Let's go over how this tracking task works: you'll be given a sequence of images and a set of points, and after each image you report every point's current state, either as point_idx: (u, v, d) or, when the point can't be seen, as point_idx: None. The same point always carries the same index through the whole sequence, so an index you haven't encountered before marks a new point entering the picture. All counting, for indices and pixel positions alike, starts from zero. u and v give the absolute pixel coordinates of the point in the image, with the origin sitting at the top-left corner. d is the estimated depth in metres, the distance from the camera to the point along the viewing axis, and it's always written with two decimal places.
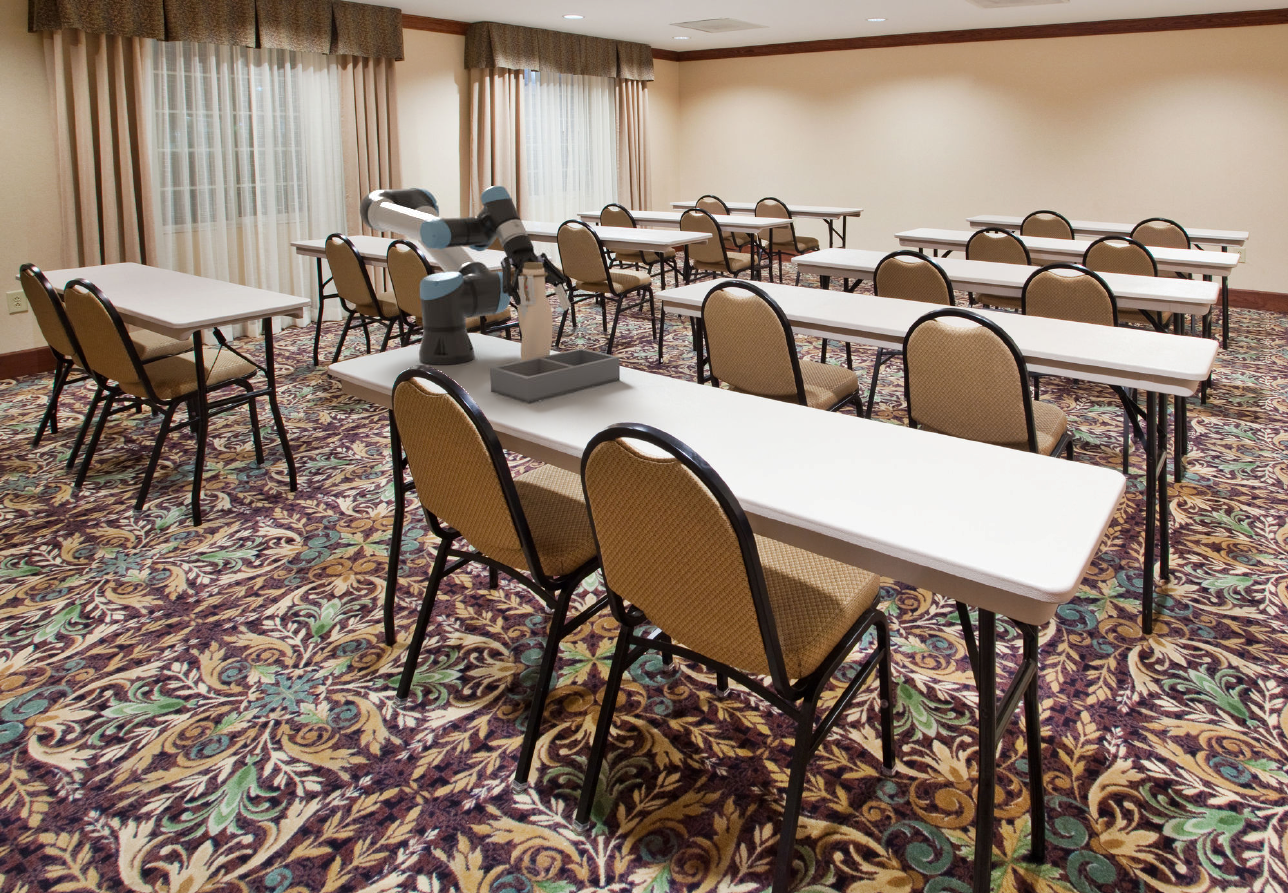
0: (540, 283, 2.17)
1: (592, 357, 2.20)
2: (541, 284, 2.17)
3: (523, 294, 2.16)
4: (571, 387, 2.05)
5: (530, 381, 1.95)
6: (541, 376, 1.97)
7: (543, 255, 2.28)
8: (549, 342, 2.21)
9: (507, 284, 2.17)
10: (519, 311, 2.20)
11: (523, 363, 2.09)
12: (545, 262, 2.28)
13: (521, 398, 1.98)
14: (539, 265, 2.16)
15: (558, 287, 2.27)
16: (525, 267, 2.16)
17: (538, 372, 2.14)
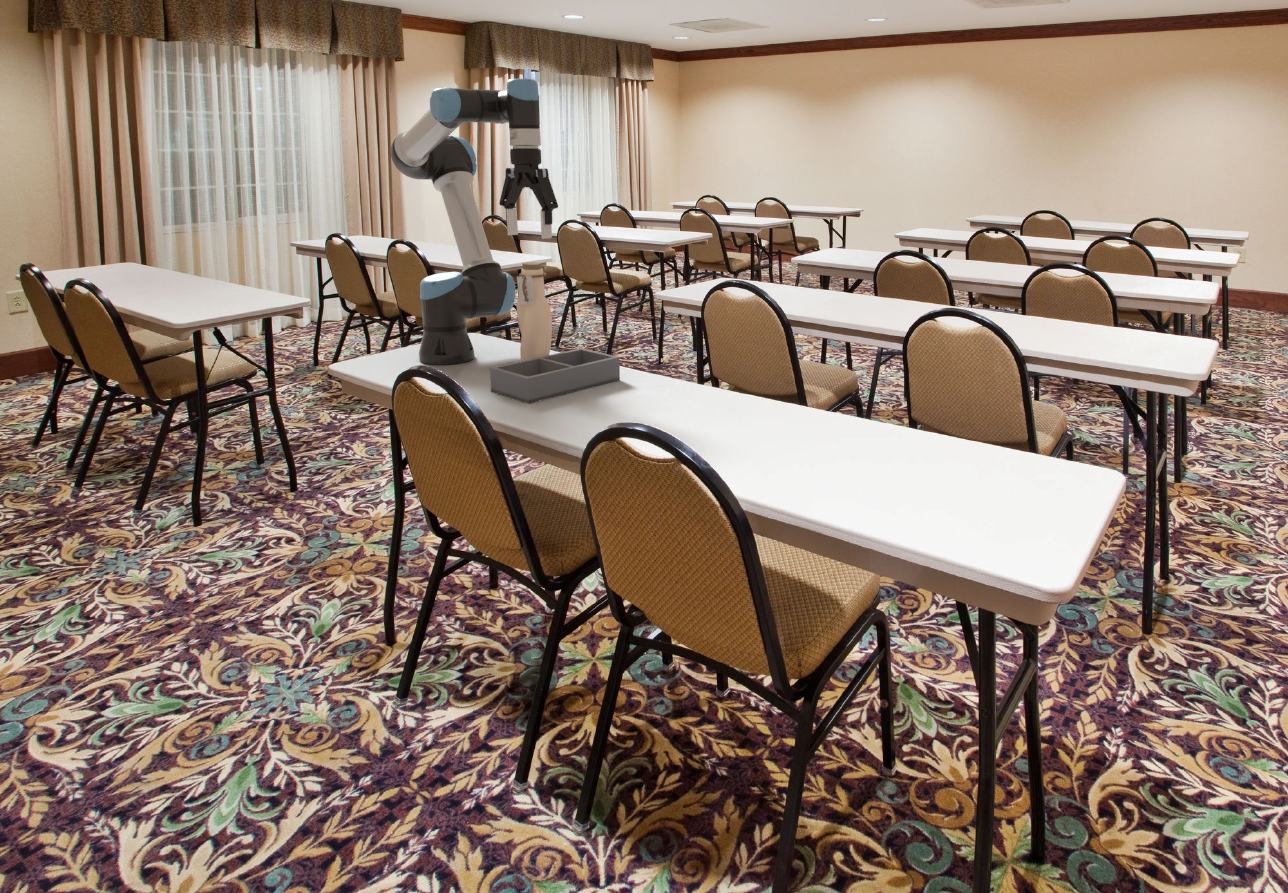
0: (538, 284, 2.17)
1: (592, 357, 2.20)
2: (540, 284, 2.17)
3: (522, 295, 2.16)
4: (571, 387, 2.05)
5: (530, 381, 1.95)
6: (541, 376, 1.97)
7: (538, 172, 2.04)
8: (548, 342, 2.21)
9: (500, 199, 2.17)
10: (518, 311, 2.20)
11: (523, 363, 2.09)
12: None
13: (521, 398, 1.98)
14: (538, 265, 2.16)
15: None
16: (524, 267, 2.16)
17: (538, 372, 2.14)
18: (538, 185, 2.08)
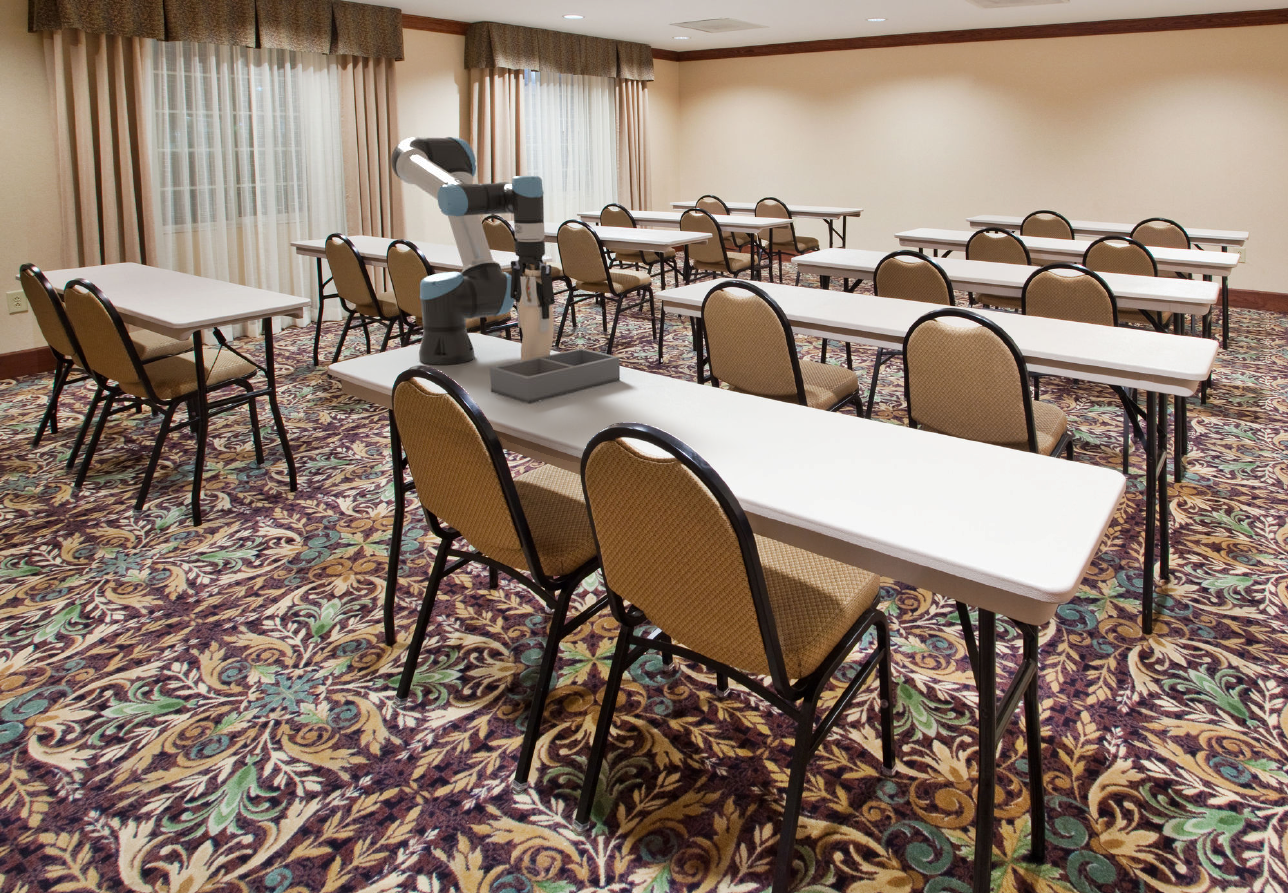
0: None
1: (592, 357, 2.20)
2: None
3: (525, 295, 2.15)
4: (571, 387, 2.05)
5: (530, 381, 1.95)
6: (541, 376, 1.97)
7: (541, 268, 2.12)
8: (549, 343, 2.21)
9: (511, 293, 2.23)
10: (520, 311, 2.19)
11: (523, 363, 2.09)
12: None
13: (521, 398, 1.98)
14: None
15: None
16: None
17: (538, 372, 2.14)
18: None
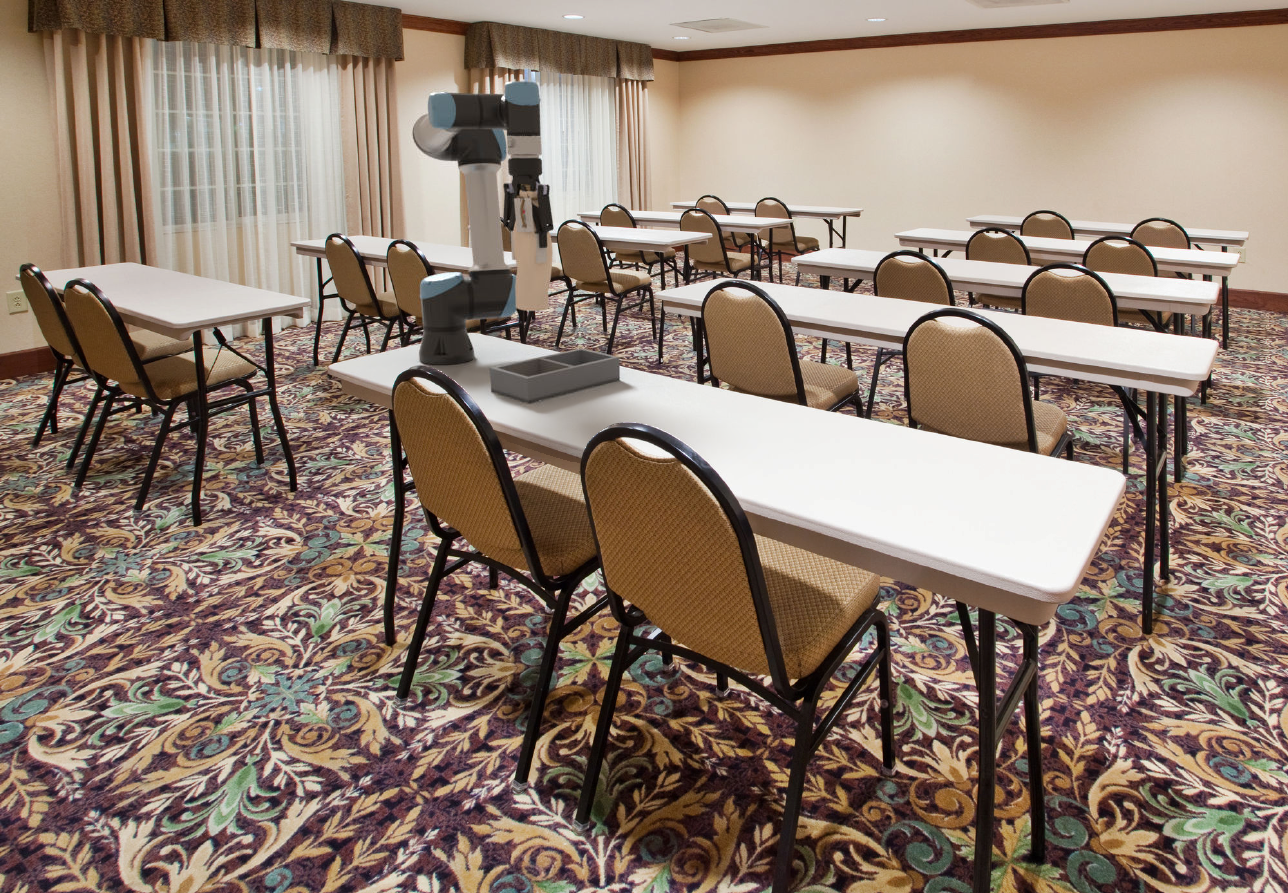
0: None
1: (592, 357, 2.20)
2: None
3: (519, 219, 1.89)
4: (571, 387, 2.05)
5: (530, 381, 1.95)
6: (541, 376, 1.97)
7: (538, 188, 1.86)
8: (547, 276, 1.95)
9: (504, 221, 1.97)
10: (514, 239, 1.93)
11: (523, 363, 2.09)
12: None
13: (521, 398, 1.98)
14: None
15: None
16: None
17: (538, 372, 2.14)
18: None
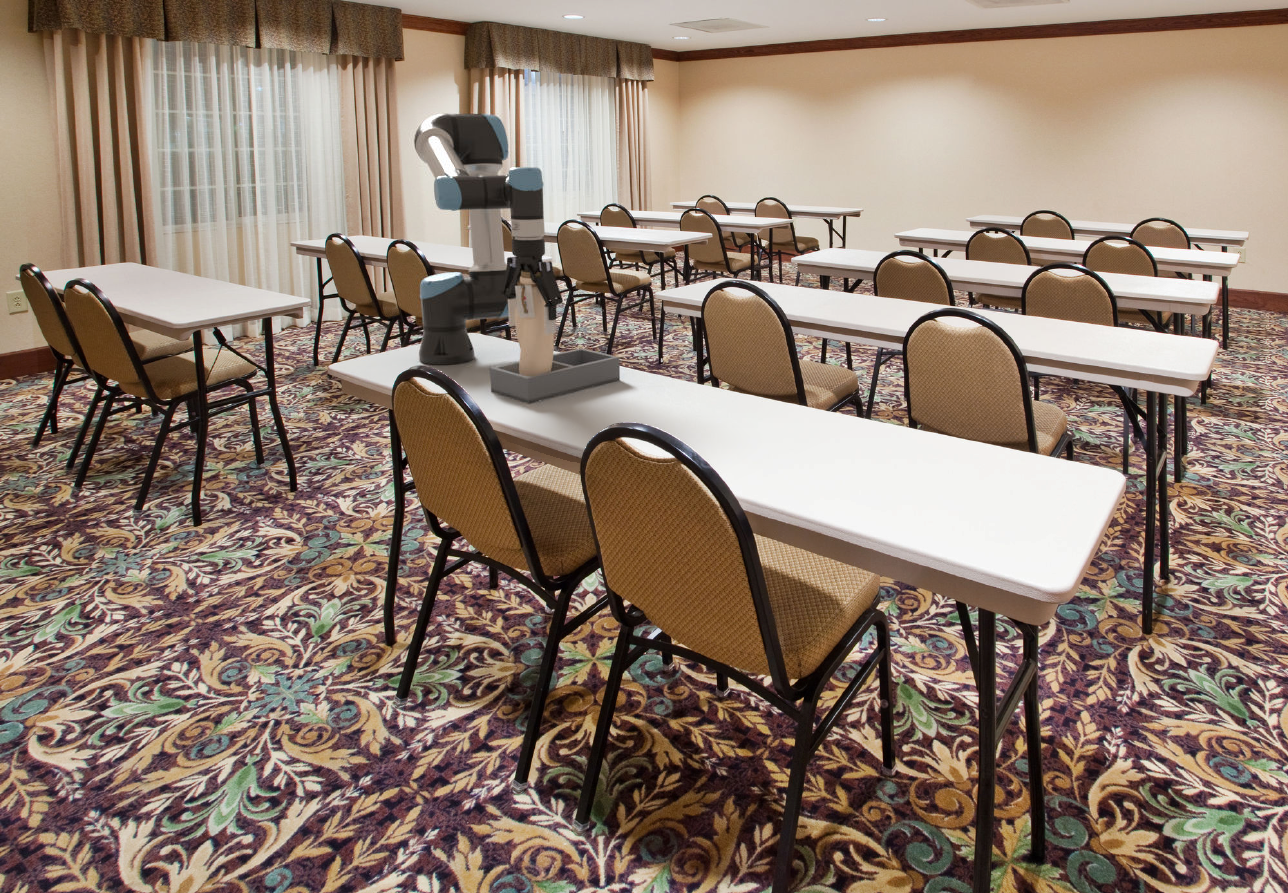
0: (539, 293, 1.96)
1: (592, 357, 2.20)
2: (540, 294, 1.96)
3: (521, 305, 1.95)
4: (571, 387, 2.05)
5: (530, 381, 1.95)
6: (541, 376, 1.97)
7: (541, 265, 1.91)
8: (550, 357, 2.01)
9: (501, 289, 2.04)
10: (517, 323, 1.99)
11: None
12: None
13: (521, 398, 1.98)
14: (538, 273, 1.95)
15: None
16: (522, 275, 1.95)
17: None
18: (542, 277, 1.95)
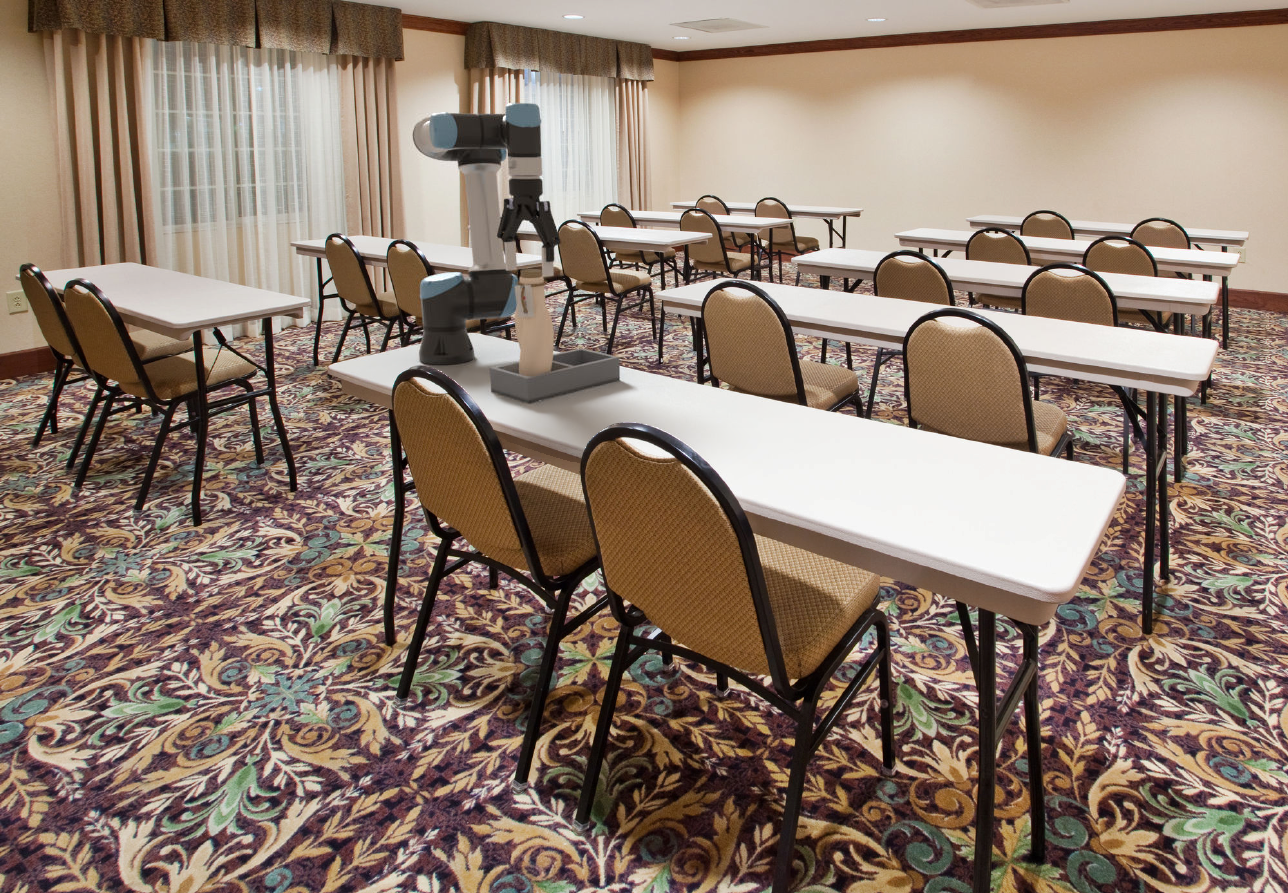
0: (538, 293, 1.96)
1: (592, 357, 2.20)
2: (540, 294, 1.97)
3: (520, 305, 1.96)
4: (571, 387, 2.05)
5: (530, 381, 1.95)
6: (541, 376, 1.97)
7: (539, 205, 1.87)
8: (550, 357, 2.01)
9: (498, 232, 2.00)
10: (516, 323, 2.00)
11: None
12: None
13: (521, 398, 1.98)
14: (537, 273, 1.95)
15: None
16: (522, 275, 1.95)
17: None
18: (539, 218, 1.90)
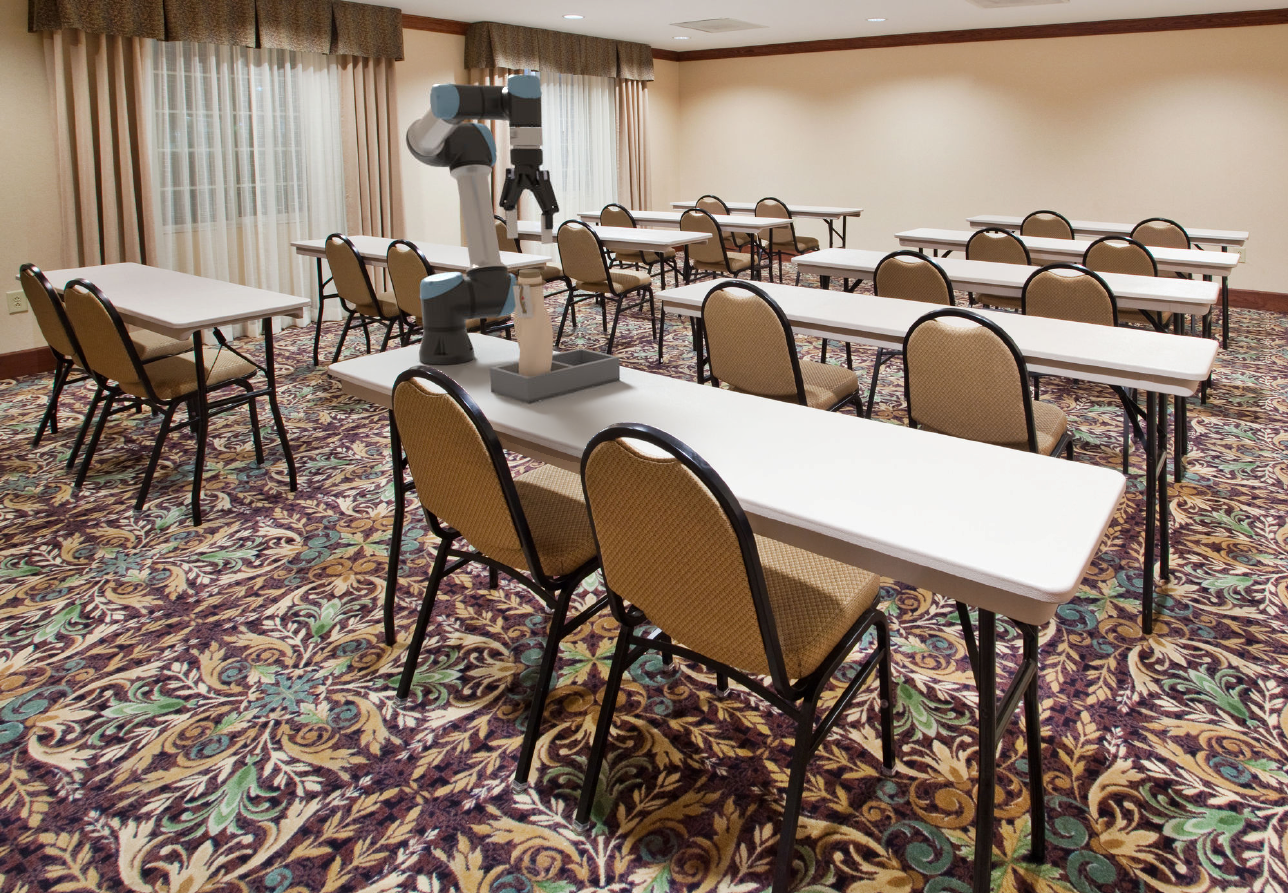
0: (537, 293, 1.96)
1: (592, 357, 2.20)
2: (539, 294, 1.96)
3: (519, 306, 1.95)
4: (571, 387, 2.05)
5: (530, 381, 1.95)
6: (541, 376, 1.97)
7: (538, 174, 1.94)
8: (549, 357, 2.01)
9: (500, 201, 2.07)
10: (515, 324, 2.00)
11: None
12: None
13: (521, 398, 1.98)
14: (536, 273, 1.95)
15: None
16: (520, 276, 1.95)
17: None
18: (539, 187, 1.97)
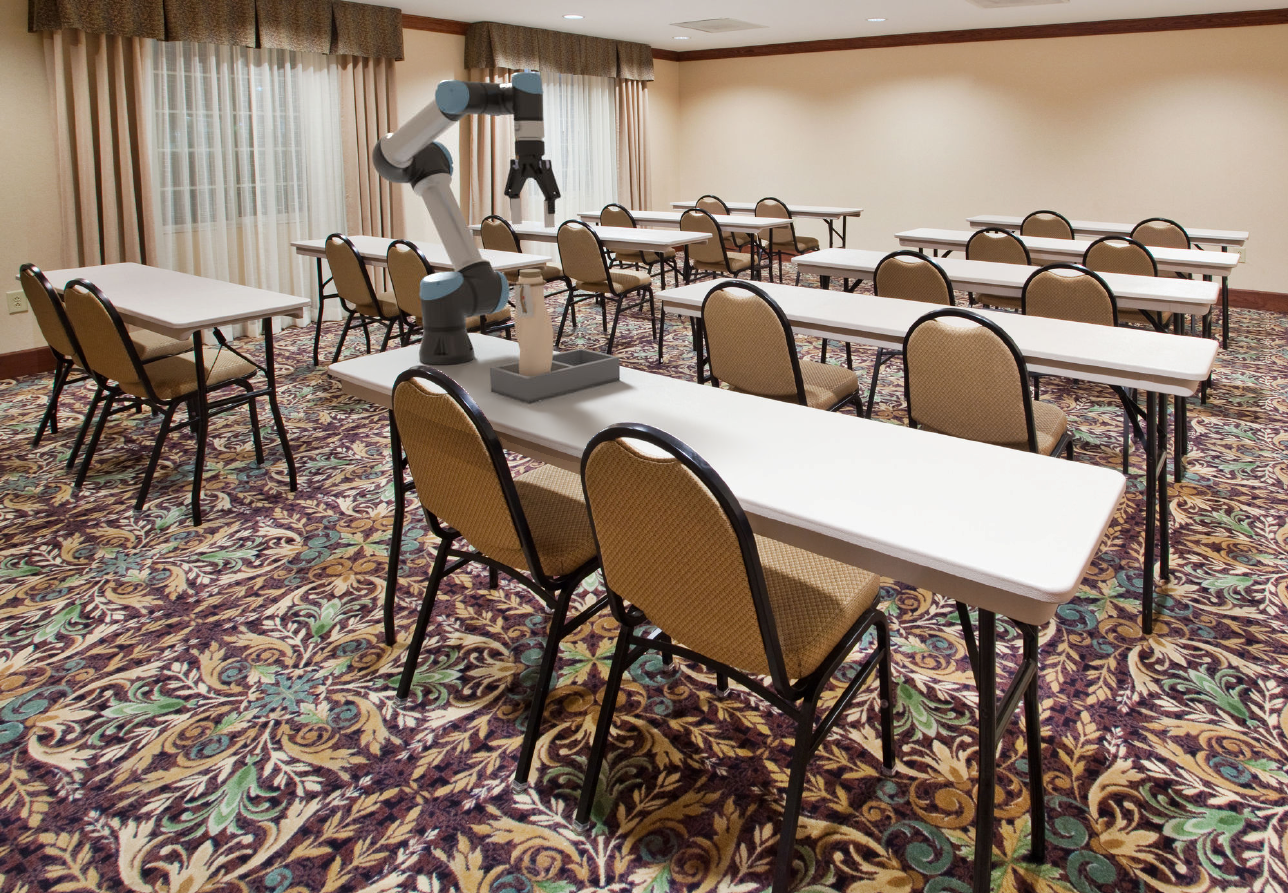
0: (538, 293, 1.96)
1: (592, 357, 2.20)
2: (539, 294, 1.97)
3: (519, 305, 1.96)
4: (571, 387, 2.05)
5: (530, 381, 1.95)
6: (541, 376, 1.97)
7: (541, 163, 2.11)
8: (549, 357, 2.01)
9: (505, 190, 2.24)
10: (516, 324, 2.00)
11: None
12: None
13: (521, 398, 1.98)
14: (536, 273, 1.95)
15: None
16: (521, 275, 1.96)
17: None
18: (542, 175, 2.15)
